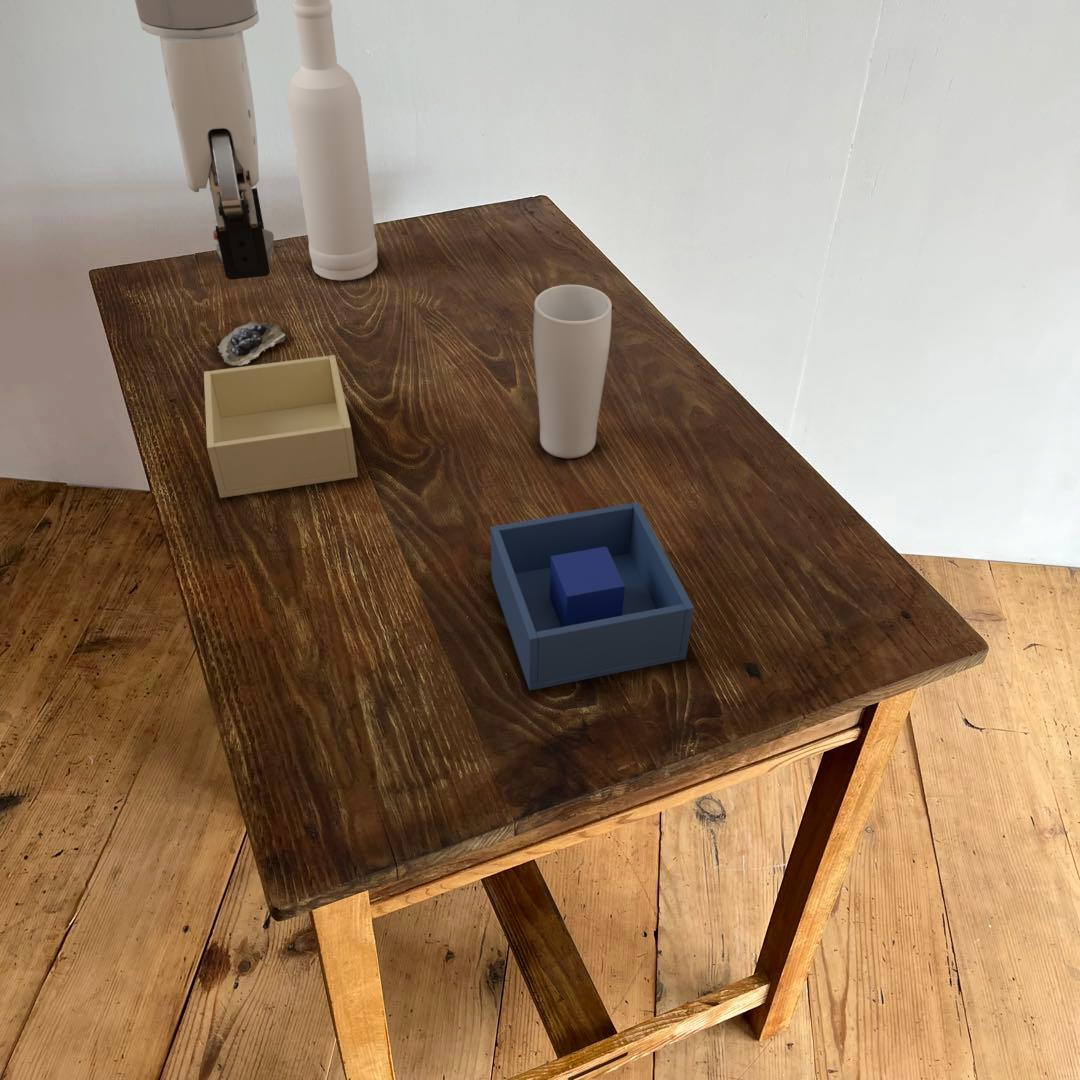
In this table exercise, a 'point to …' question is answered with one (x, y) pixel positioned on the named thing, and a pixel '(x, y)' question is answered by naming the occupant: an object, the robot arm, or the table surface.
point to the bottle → (330, 152)
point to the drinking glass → (570, 366)
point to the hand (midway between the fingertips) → (246, 255)
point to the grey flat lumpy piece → (249, 342)
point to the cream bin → (278, 426)
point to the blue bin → (603, 645)
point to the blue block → (585, 586)
